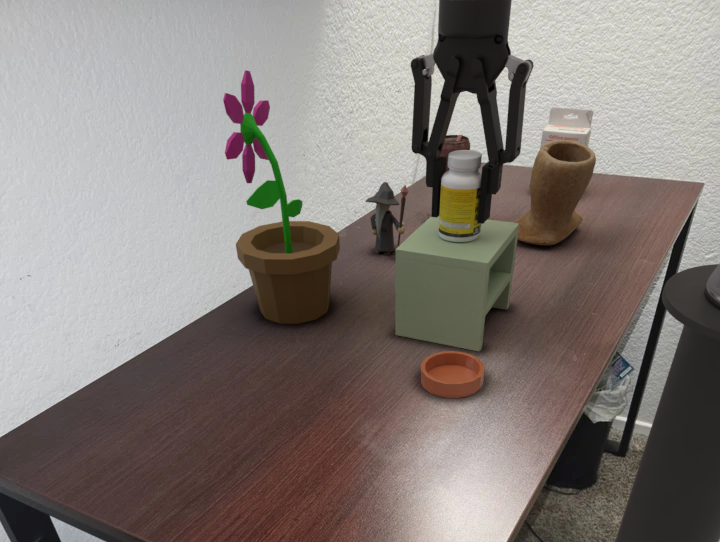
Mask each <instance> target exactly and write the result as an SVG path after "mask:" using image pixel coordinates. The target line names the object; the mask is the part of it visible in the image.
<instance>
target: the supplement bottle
mask: <svg viewBox="0 0 720 542" xmlns="http://www.w3.org/2000/svg"><path fill="white" fill-rule="evenodd" d="M482 155H483V154H482V153H481V152H480V151H478V150H473V149H470V150H457V151H453V152H450V153H449V155H448V168H449V171H447V172H445V173H444V174H443V176H442V178H441V193H440V210H439V229H438V233H439V236H440V237H441V238H442V239H444V240H447V241H451V242H469V241H473V240H475V239H477V238H478V237H479V235H480V230H481V223H478V211H479V199H480V187H481V176H482V171H479V170H480V169H481V168H482V166H481V165H482V157H483V156H482Z"/></svg>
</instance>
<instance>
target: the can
mask: <svg viewBox="0 0 720 542" xmlns="http://www.w3.org/2000/svg"><path fill="white" fill-rule="evenodd" d="M442 150H443V152H442V153H441V154H440V157H441V156H444V157H447V166H446V172H447V171H449V168H448V155H449V153H450V152H453V151H457V150H471V142H470V138H469V137H468V136H466V135H463V134H446V138H445V141H444V144H443V148H442Z"/></svg>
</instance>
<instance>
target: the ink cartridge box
mask: <svg viewBox="0 0 720 542" xmlns="http://www.w3.org/2000/svg"><path fill="white" fill-rule="evenodd" d="M570 114H571V115H573V116H577V117H578V118H567V117H564V116H569V115H570ZM593 115H594V111H593V109H584V108H572V107H556V106H552V107H551V108H550V110H549V119H548V124H547V125H546V126H545V127H544V128H543V130H542V133H541V138H540V139H541V140H540V145H539V150H540V149H541V148H542V147H543V146H544V145H545V144H546V143H548V142H550V141H555V140H571V141H576V142H579V143H582V144H584V145H586V146H587V147H589V143H590V138H591V133H592V123H593Z"/></svg>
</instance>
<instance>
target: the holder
mask: <svg viewBox="0 0 720 542" xmlns="http://www.w3.org/2000/svg"><path fill="white" fill-rule="evenodd" d="M484 378H485V365H484V363H483V361H481V359H480V358H478V357H477V356H476V355H473V354H470V353H469V352H464V351H460V350H459V351H458V350H444V351H439V352H434V353H432V354H430V355H428V356H426V357H425V358H424V359H423V360H422V362H421V363H420V384H421V386H422V387H423V388H424V390H426V391H427V392H428V393H430V394H432V395H435V396H436V397H441V398H447V399H459V398H461V399H462V398H465V397H469V396H473V395H474V394H476V393H477V392H479V391H480V390H481V388H482V387H483V384H484V381H485V380H484Z"/></svg>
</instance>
